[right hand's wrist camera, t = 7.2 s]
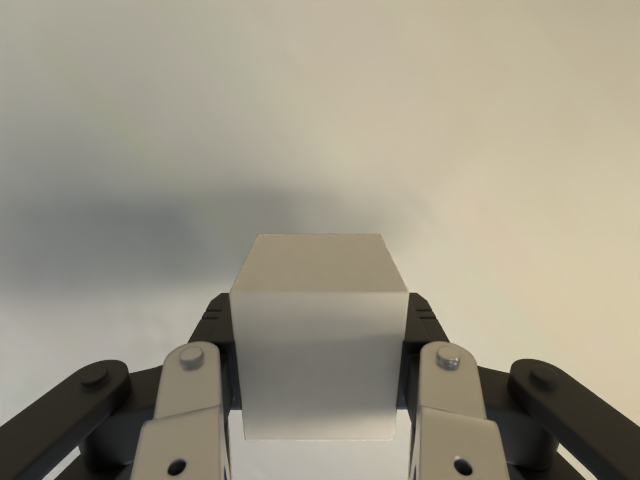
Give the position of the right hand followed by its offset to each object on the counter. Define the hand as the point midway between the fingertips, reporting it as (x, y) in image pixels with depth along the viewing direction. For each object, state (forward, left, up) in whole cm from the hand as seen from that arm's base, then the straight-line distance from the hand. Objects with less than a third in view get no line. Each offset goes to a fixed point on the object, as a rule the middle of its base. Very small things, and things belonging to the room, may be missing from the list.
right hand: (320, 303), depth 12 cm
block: (0, 0, 0) cm, 0 cm away
